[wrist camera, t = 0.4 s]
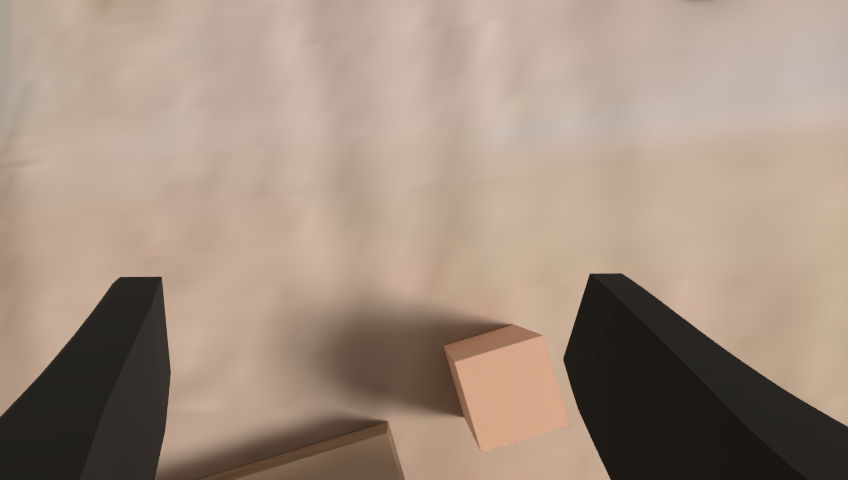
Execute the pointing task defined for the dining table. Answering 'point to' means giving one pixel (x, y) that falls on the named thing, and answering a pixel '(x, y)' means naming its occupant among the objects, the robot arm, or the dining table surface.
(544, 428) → the peg
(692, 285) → the dining table surface
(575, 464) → the dining table surface
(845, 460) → the robot arm
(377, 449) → the slot block
